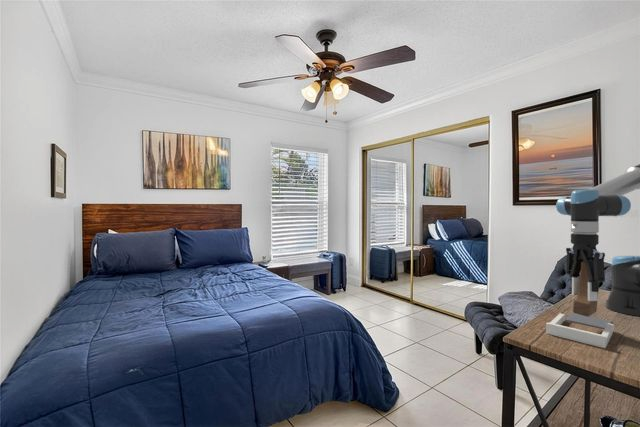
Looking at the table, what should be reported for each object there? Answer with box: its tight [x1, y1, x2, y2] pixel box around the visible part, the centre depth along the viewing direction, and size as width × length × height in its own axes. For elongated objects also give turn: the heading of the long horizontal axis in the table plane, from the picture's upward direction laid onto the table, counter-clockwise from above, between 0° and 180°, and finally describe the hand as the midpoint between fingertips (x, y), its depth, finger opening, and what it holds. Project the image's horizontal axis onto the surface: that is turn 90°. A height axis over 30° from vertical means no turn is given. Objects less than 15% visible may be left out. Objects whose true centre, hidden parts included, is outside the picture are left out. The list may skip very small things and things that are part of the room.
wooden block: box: [572, 261, 598, 317], centre depth 109 cm, size 9×4×18 cm, turn 125°
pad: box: [564, 312, 613, 330], centre depth 116 cm, size 11×12×1 cm
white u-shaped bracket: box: [545, 312, 615, 349], centre depth 106 cm, size 20×15×4 cm
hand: (584, 297), depth 109 cm, fingers closed on wooden block, 6 cm apart
